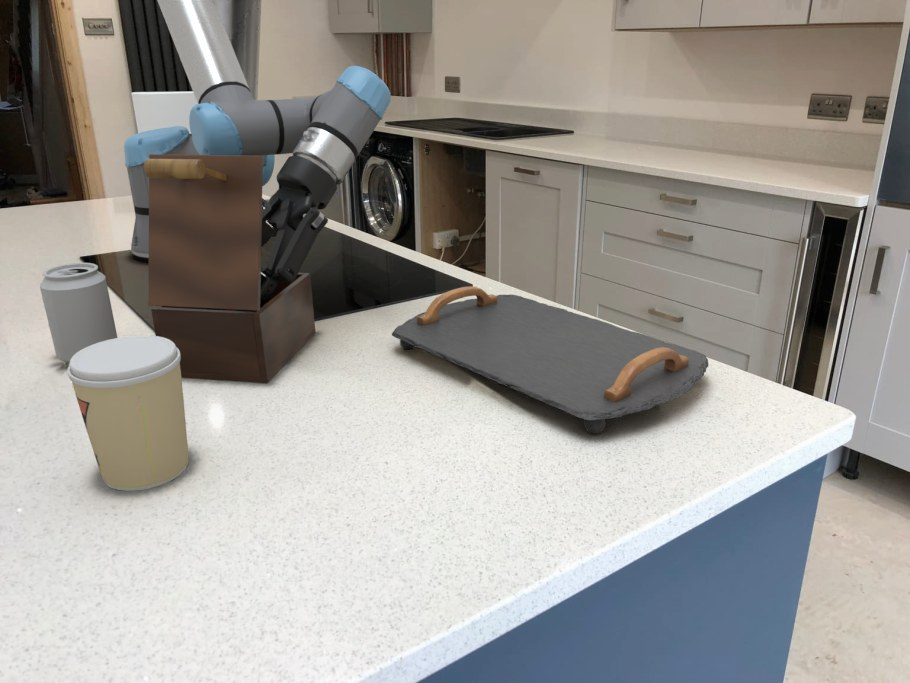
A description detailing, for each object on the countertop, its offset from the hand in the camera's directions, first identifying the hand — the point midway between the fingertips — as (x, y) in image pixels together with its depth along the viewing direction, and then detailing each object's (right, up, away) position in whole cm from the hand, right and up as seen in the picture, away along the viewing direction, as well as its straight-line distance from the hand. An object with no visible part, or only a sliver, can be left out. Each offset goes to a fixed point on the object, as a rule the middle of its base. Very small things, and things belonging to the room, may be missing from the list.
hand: (223, 315), depth 93 cm
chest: (+2, -5, +3) cm, 6 cm away
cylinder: (-36, +29, +87) cm, 99 cm away
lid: (+1, +9, -9) cm, 13 cm away
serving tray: (+40, -6, -2) cm, 41 cm away
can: (-18, -5, +3) cm, 19 cm away
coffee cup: (0, -16, -23) cm, 28 cm away
